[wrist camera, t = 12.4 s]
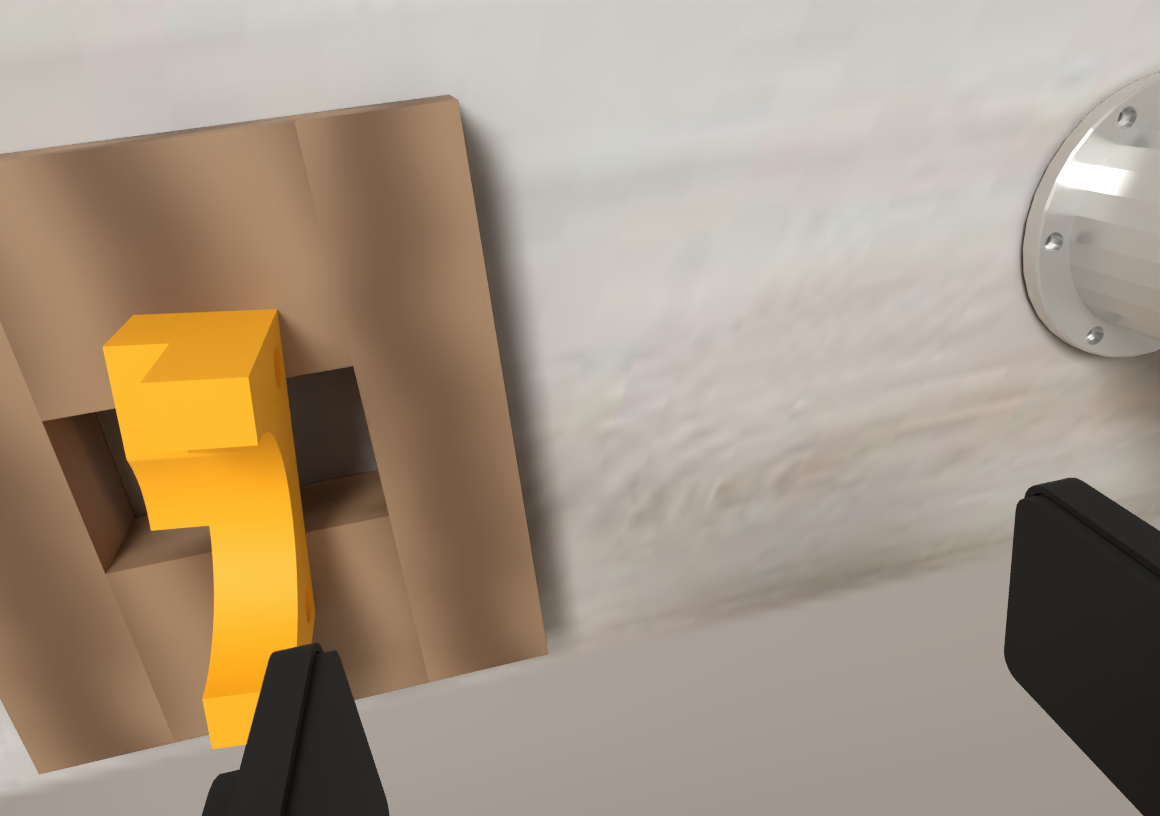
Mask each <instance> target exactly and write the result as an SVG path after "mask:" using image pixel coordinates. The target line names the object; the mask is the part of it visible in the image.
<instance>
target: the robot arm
mask: <svg viewBox="0 0 1160 816" xmlns="http://www.w3.org/2000/svg"><path fill="white" fill-rule="evenodd" d="M1023 272H1024V278H1025V282H1026V287H1027V291H1028V296H1029V298H1030V300H1031V302H1032V305H1033V307H1034V309H1035V311H1036V313H1037V315H1038V317H1039V318H1040V319H1041V320H1042V322H1043V323H1044V324H1045V325H1046V326H1047V328H1048V329H1049V330H1050V331H1051V332H1052V333H1053V334H1055V335H1056V336H1058V337H1059V338H1060V339H1062V340H1063V341H1065V342H1066V343H1068V344H1070V345H1072V346H1074V347H1077V348H1079V349H1081V350H1084V351H1086V352H1088V353H1092V354H1097V355H1101V356H1105V357H1134V356H1138V355H1143V354H1148V353H1152V352H1155V351H1157V350H1160V72H1158V73H1155V74H1153V75H1150V76H1147V77H1145V78H1142V79H1139V80H1137V81H1134V82H1133V83H1131V84H1129V85H1128V86H1126V87H1124V88H1123V89H1121V90H1119V91H1118V92H1116V93H1114V94H1112V95H1111V96H1109V97H1108V98H1107V99H1106V100H1105V101H1103V102H1102V103H1101V104H1100V105H1099V106H1097V107H1096V108H1095V109H1094V110H1093V111H1092V112H1090V113H1089V114H1088V115H1087V116H1086V117H1085V118H1084V119H1083V120H1082V121H1081V123H1080V124H1079V125H1078V126H1077V127H1076V128H1075V129H1074V130H1073V132H1072V133H1071V134H1070V135H1069V136H1068V137H1067V138H1066V140H1065V141H1064V143H1063V144H1062V146H1061V147H1060V149H1059V150H1058V152H1057V153H1056V155H1055V156H1054V158H1053V159H1052V161H1051V162H1050V164H1049V166H1048V168H1047V170H1046V172H1045V174H1044V176H1043V178H1042V180H1041V182H1040V184H1039V186H1038V189H1037V191H1036V193H1035V196H1034V199H1033V203H1032V206H1031V209H1030V212H1029V215H1028V219H1027V223H1026V230H1025V237H1024V244H1023ZM1004 655H1005V661H1006V664H1007V666H1008V668H1009V670H1010V672H1011V674H1012V676H1013V677H1014V678H1015V680H1016V681H1017V682H1018V683H1019V684H1020V685H1021V686H1022V687H1023V688H1024V689H1025V690H1026V691H1027V692H1028V693H1029V695H1030V696H1031V697H1032V698H1033V699H1034V700H1035V701H1036V702H1037V703H1038V704H1039V705H1040V706H1041V707H1042V708H1043V709H1044V710H1045V712H1046V713H1047V714H1048V715H1049V716H1050V717H1051V718H1052V719H1053V720H1054V721H1055V722H1056V723H1057V724H1058V725H1059V726H1060V727H1061V729H1062V730H1063V731H1064V732H1065V733H1066V734H1067V735H1068V736H1069V737H1070V738H1071V739H1072V740H1073V741H1074V742H1075V743H1076V744H1077V746H1079V748H1080V749H1081V750H1082V751H1083V752H1084V753H1085V754H1086V755H1087V756H1088V757H1089V758H1090V759H1091V760H1092V761H1093V762H1094V764H1096V766H1097V767H1098V768H1099V769H1100V770H1101V771H1102V772H1103V773H1104V774H1105V775H1106V776H1107V777H1108V779H1109V780H1111V782H1112V783H1113V784H1114V785H1115V786H1116V787H1117V788H1118V789H1119V790H1120V791H1121V792H1122V793H1123V794H1124V796H1125V797H1126V798H1127V799H1128V800H1129V801H1130V802H1131V803H1132V804H1133V805H1134V806H1135V807H1136V808H1137V809H1138V810H1139V811H1140V812H1141V814H1142V815H1143V816H1160V531H1159V530H1157V529H1156V528H1154V527H1153V526H1151V525H1149V524H1148V523H1146V522H1145V521H1143V520H1142V519H1140V518H1139V517H1137V516H1136V515H1134V514H1133V513H1131V512H1129V511H1128V510H1126V509H1125V508H1123V507H1122V506H1120V505H1119V504H1117V503H1116V502H1114V501H1113V500H1111V499H1109V498H1108V497H1106V496H1105V495H1103V494H1102V493H1100V492H1099V491H1097V490H1096V489H1094V488H1093V487H1091V486H1089V485H1088V484H1086V483H1085V482H1083V481H1081V480H1079V479H1077V478H1066V479H1062V480H1057V481H1053V482H1048V483H1043V484H1039V485H1034V486H1032V487H1030V488H1029V489H1028V490H1027V492H1026V494H1025V498H1024V499H1022V500H1020V501H1019V502H1018V504H1017V507H1016V514H1015V526H1014V538H1013V550H1012V562H1011V574H1010V586H1009V599H1008V610H1007V623H1006V634H1005V646H1004ZM202 816H389V810H388V804H387V800H386V796H385V793H384V790H383V787H382V784H381V781H380V778H379V775H378V772H377V769H376V766H375V763H374V760H373V756H372V753H371V751H370V747H369V744H368V741H367V738H366V735H365V732H364V729H363V726H362V723H361V720H360V717H359V714H358V711H357V707H356V704H355V701H354V698H353V695H352V692H351V689H350V686H349V683H348V680H347V677H346V674H345V671H344V668H343V665H342V662H341V659H340V656H339V654H338V652H337V651H335V650H333V651H329V652H324V651H323V649H322V647H321V646H320V644H319V643H311V644H307V645H302V646H298V647H293V648H289V649H284V650H279V651H275V652H273V653H272V654H271V655H270V658H269V661H268V664H267V668H266V672H265V676H264V679H263V683H262V687H261V691H260V694H259V698H258V702H257V706H256V709H255V713H254V717H253V721H252V725H251V728H250V732H249V736H248V740H247V743H246V747H245V751H244V755H243V758H242V763H241V766H240V770H236V771H232V772H227V773H223V774H219V775H218V776H217V778H216V779H215V780H214V781H213V783H212V786H211V788H210V790H209V793H208V796H207V800H206V803H205V806H204V810H203V813H202Z"/></svg>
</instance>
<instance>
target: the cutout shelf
mask: <svg viewBox="0 0 1160 816" xmlns="http://www.w3.org/2000/svg"><path fill="white" fill-rule="evenodd" d="M268 309H277V312H278V320H279V328H280V336H281V344H282V352H283V360H284V368H285V376H286V378H289V377H294V376H300V375H306V374H311V373H317V372H322V371H328V370H334V369H339V368H345V367H351V366H353V367H354V371H355V375H356V380H357V384H358V388H359V392H360V396H361V400H362V404H363V409H364V413H365V417H366V421H367V425H368V429H369V434H370V438H371V442H372V446H373V450H374V454H375V459H376V463H377V467H378V470H376V471H371V472H366V473H361V474H356V475H351V476H346V477H341V478H336V479H331V480H325V481H320V482H315V483H310V484H305V485H300V486H299V487H300V495H301V503H302V510H303V518H304V526H305V534H306V542H307V550H308V558H309V566H310V574H311V582H312V590H313V598H314V606H315V621H314V629H313V637H312V643H319V644H320V646H321V647H322V649H323V651H324V652H329V651H333V650H335V651H337V652H338V654H339V656H340V659H341V662H342V665H343V668H344V671H345V674H346V677H347V680H348V683H349V686H350V689H351V692H352V695H353V698H354V700H356V699H360V698H365V697H369V696H373V695H377V694H381V693H386V692H390V691H394V690H398V689H403V688H407V687H411V686H415V685H419V684H424V683H428V682H432V681H436V680H441V679H445V678H449V677H453V676H458V675H462V674H466V673H470V672H474V671H479V670H483V669H487V668H491V667H496V666H500V665H504V664H508V663H512V662H517V661H521V660H525V659H529V658H534V657H538V656H542V655H546V654H548V650H547V644H546V638H545V631H544V625H543V619H542V613H541V607H540V601H539V595H538V588H537V582H536V576H535V570H534V564H533V558H532V552H531V545H530V539H529V533H528V527H527V521H526V515H525V508H524V502H523V496H522V490H521V484H520V478H519V472H518V465H517V459H516V453H515V447H514V441H513V435H512V429H511V422H510V416H509V410H508V404H507V398H506V392H505V386H504V379H503V373H502V367H501V361H500V355H499V349H498V343H497V336H496V330H495V324H494V318H493V312H492V306H491V299H490V293H489V287H488V281H487V275H486V269H485V263H484V256H483V250H482V244H481V238H480V232H479V226H478V220H477V213H476V207H475V201H474V195H473V189H472V183H471V177H470V170H469V164H468V158H467V152H466V146H465V140H464V133H463V127H462V121H461V115H460V109H459V103H458V100H457V99H456V98H454V97H452V96H450V95H443V96H436V97H428V98H421V99H413V100H406V101H398V102H391V103H383V104H375V105H368V106H360V107H353V108H345V109H338V110H330V111H323V112H315V113H307V114H300V115H292V116H285V117H277V118H270V119H262V120H255V121H247V122H239V123H232V124H224V125H217V126H209V127H202V128H194V129H187V130H179V131H171V132H164V133H156V134H149V135H141V136H134V137H126V138H119V139H111V140H103V141H96V142H88V143H81V144H73V145H66V146H58V147H50V148H43V149H35V150H28V151H20V152H13V153H5V154H0V699H1V701H2V703H3V705H4V707H5V709H6V711H7V713H8V715H9V717H10V719H11V720H12V722H13V724H14V726H15V728H16V730H17V732H18V734H19V736H20V738H21V740H22V742H23V744H24V746H25V748H26V750H27V752H28V753H29V755H30V757H31V759H32V761H33V763H34V765H35V767H36V769H37V771H38V773H39V774H43V773H48V772H52V771H56V770H60V769H64V768H69V767H73V766H77V765H81V764H86V763H90V762H94V761H98V760H102V759H107V758H111V757H115V756H119V755H124V754H128V753H132V752H136V751H141V750H145V749H149V748H153V747H157V746H162V745H166V744H170V743H174V742H179V741H183V740H187V739H191V738H195V737H200V736H204V735H208V734H209V731H208V726H207V720H206V715H205V710H204V705H203V700H202V698H203V694H204V690H205V686H206V681H207V676H208V670H209V664H210V656H211V647H212V636H213V619H214V573H213V556H212V544H211V536H210V528H209V526H199V527H188V528H176V529H165V530H154V531H151V529H150V523H149V518H148V516H143V517H138V518H135V515H134V513H133V510H132V508H131V505H130V502H129V500H128V497H127V495H126V492H125V489H124V487H123V484H122V482H121V479H120V476H119V474H118V471H117V469H116V466H115V463H114V461H113V458H112V456H111V453H110V450H109V448H108V445H107V443H106V440H105V437H104V435H103V432H102V430H101V427H100V424H99V422H98V419H97V417H96V414H95V412H97V411H103V410H109V409H114V408H115V403H114V398H113V394H112V389H111V384H110V380H109V375H108V370H107V366H106V361H105V356H104V351H103V346H104V345H105V344H106V343H107V342H108V341H109V340H110V338H111V337H112V336H113V335H114V334H115V333H116V332H117V331H118V330H119V329H120V328H121V327H122V326H123V325H124V324H125V323H126V322H127V321H128V320H129V319H130V318H131V317H132V316H133V315H144V314H169V313H194V312H219V311H243V310H268Z"/></svg>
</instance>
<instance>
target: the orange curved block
mask: <svg viewBox="0 0 1160 816" xmlns="http://www.w3.org/2000/svg"><path fill="white" fill-rule="evenodd" d="M103 351H104V356H105V361H106V366H107V370H108V375H109V380H110V384H111V389H112V394H113V398H114V403H115V408H116V413H117V417H118V422H119V427H120V431H121V436H122V441H123V446H124V450H125V455H126V460H127V461H128V463H129V464H130V466H131V468H132V470H133V472H134V474H135V476H136V478H137V480H138V483H139V486H140V488H141V491H142V495H143V498H144V501H145V505H146V509H147V513H148V518H149V523H150V529H151V531H154V530H165V529H176V528H188V527H199V526H209V528H210V536H211V544H212V556H213V573H214V619H213V636H212V647H211V656H210V664H209V670H208V676H207V681H206V686H205V690H204V694H203V698H202V700H203V705H204V710H205V715H206V720H207V726H208V731H209V736H210V741H211V746H212V749H217V748H224V747H231V746H238V745H245V744H246V743H247V740H248V736H249V732H250V728H251V725H252V721H253V717H254V713H255V709H256V706H257V702H258V698H259V694H260V691H261V687H262V683H263V679H264V676H265V672H266V668H267V664H268V661H269V658H270V655H271V654H272V653H273V652H275V651H279V650H284V649H289V648H293V647H298V646H302V645H307V644H311V643H312V637H313V629H314V621H315V606H314V598H313V590H312V582H311V574H310V566H309V558H308V550H307V542H306V534H305V526H304V518H303V510H302V503H301V495H300V487H299V479H298V471H297V463H296V455H295V447H294V439H293V431H292V423H291V415H290V407H289V399H288V392H287V384H286V376H285V368H284V360H283V352H282V344H281V336H280V328H279V320H278V312H277V309H268V310H243V311H219V312H194V313H169V314H144V315H133V316H132V317H131V318H130V319H129V320H128V321H127V322H126V323H125V324H124V325H123V326H122V327H121V328H120V329H119V330H118V331H117V332H116V333H115V334H114V335H113V336H112V337H111V338H110V340H109V341H108V342H107V343H106V344H105V345H104V346H103Z"/></svg>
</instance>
